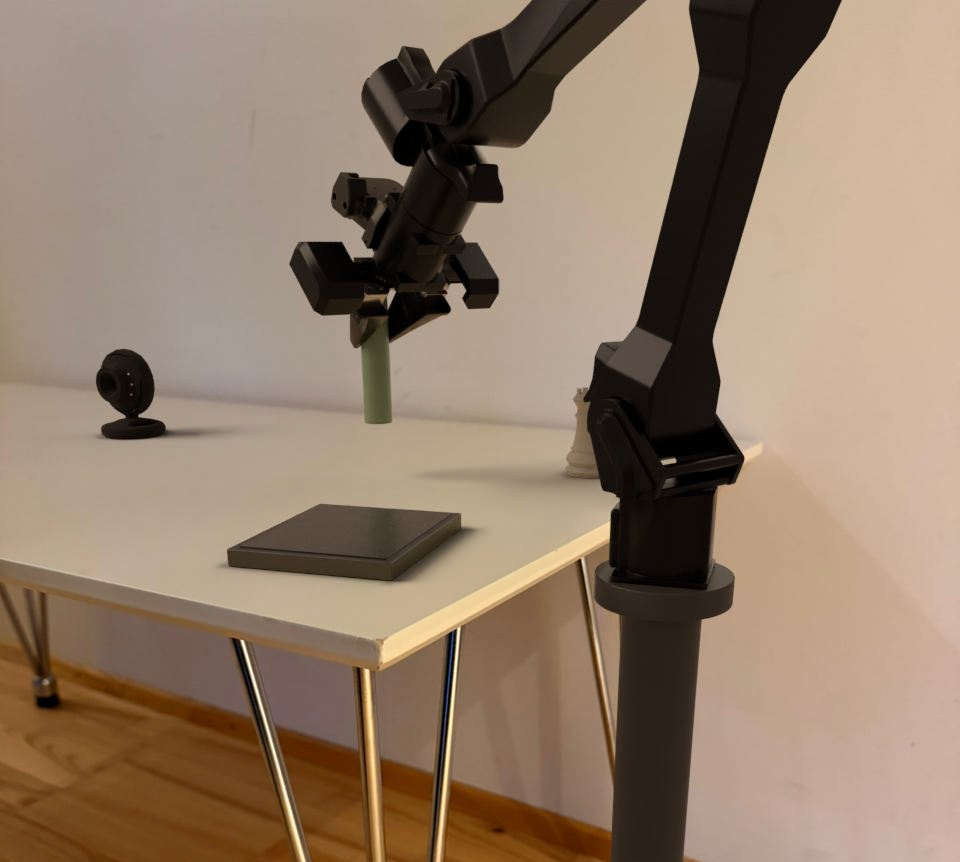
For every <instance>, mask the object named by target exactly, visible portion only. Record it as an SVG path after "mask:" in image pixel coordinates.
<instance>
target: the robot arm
mask: <svg viewBox="0 0 960 862" xmlns="http://www.w3.org/2000/svg"><path fill="white" fill-rule="evenodd" d="M842 1H843V0H689V2H688V15H689V20H690V26H691V31H692V37H693V41H694V47H695V53H696V58H697V63H698V73H697V80H696V84H695V88H694V93H693V97H692V101H691V104H690V109H689V112H688V116H687V120H686V125H685V129H684V133H683V136H682V141H681V146H680V149H679V153H678V157H677V161H676V165H675V168H674V173H673V177H672V181H671V185H670V188H669V189H670V190H669V194H668V197H667V202H666V205H665V209H664V212H663V213H664V214H663V217H662V221H661V226H660V230H659V232H658V233H659V234H658V237H657V241H656V245H655V249H654V253H653V257H652V261H651V266H650V269H649V274H648V278H647V281H646V286H645V290H644V293H643V298H642V302H641V306H640V310H639V313H638V314H639V315H638V318H637V320H636V322H635V325H634V326H633V327H632V329H631V330H630V332H629V333H628V334H627V335H626V337H625V338H624V339H623V340H617V341H603V342H601V343H600V344H599V346H598V348H597V350H596V352H595V355H594V361H593V369H592V377H591V381H590V385H589V387H588V391H587V393H586V395H585V396H584V398H583V401H584V402H585V403H587V402H590V404H589V408H588V413H587V431H588V433H589V434H590V437H591V442H592V446H593V451H594V455H595V460H596V465H597V469H598V474H599V477H598V478H599V482H600V488H601V490H602V491H603V492H606V493H610V494H613V495H614V496H615V498H618V502H617V503H616V504H615V505H614V507H613V508H612V509H611V510H610V521H609V541H608V542H609V543H608V544H609V545H608V546H609V547H608V560H609V565H610V567H611V568H615V569H614V571H613V572H612V574H611V581H612V582H615V583H625V584H637V585H648V586H660V587H672V588H683V589H695V590H705V589H707V588H708V585H709V582H710V579H711V576H712V573H713V570H714V567H715V563H716V558H713V555H714V544H715V543H714V542H715V532H716V531H715V530H716V529H715V528H716V517H717V505H718V492H719V487H721V486H725V485H726V486H731V485H735V484H736V483H737V480H738V478H739V477H740V476H739V475H740V473H741V470H742V468H743V465H744V463H745V461H746V460H745V458H746V457H745V455H744V453H743V452H742V450H741V448H740V447H739V445H738V444H737V442H736V441H735V440H734V438H733V436H732V435H731V433H730V432H729V431H728V429H727V427H726V425H725V424H724V423H723V421H722V419H720V417H719V416H718V414H717V409H718V402H719V397H720V390H721V383H722V379H721V373H720V369H719V365H718V360H717V355H716V351H715V345H714V335H715V331H716V327H717V324H718V320H719V317H720V313H721V310H722V307H723V303H724V300H725V297H726V293H727V289H728V286H729V282H730V279H731V275H732V273H733V269H734V266H735V262H736V259H737V255H738V252H739V249H740V245H741V241H742V238H743V234H744V231H745V228H746V224H747V221H748V217H749V214H750V211H751V207H752V204H753V200H754V197H755V195H756V191H757V187H758V183H759V180H760V177H761V173H762V170H763V167H764V163H765V159H766V155H767V153H768V149H769V146H770V142H771V139H772V136H773V132H774V130H775V129H774V128H775V126H776V125H775V124H776V122H777V118H778V116H779V115H778V114H779V112H780V109H781V104H782V101H783V98H784V96H785V94H786V91H787V88H788V86H789V85H790V84H791V82H792V81H793V80H794V78H795V77H796V76H797V74H798V73H799V72H800V70H801V69H802V68H803V67H804V66H805V65H806V63H807V61H808V60H809V59H810V58H811V57H812V55H813V54H814V52H816V50H817V49H818V48H819V47H820V46H821V43H822V42H823V41H824V40H825V39H826V37H827V35H828V34H829V31H830V29H831V26H832V25H833V22H834V19H835V17H836V16H837V13H838V10H839V8H840V6H841V4H842ZM646 2H647V0H530V1H529V3H528V4H526V6H524V8H523V9H521V11H520V12H519V13H518V14H517V15H516V16H515V17H514V18H513V19H512V20H510V22H508V23H507V24H506V25H504V26H503V27H501V28H498V29H495V30H492V31H489V32H487V33H484V34H480V35H478V36H476V37H473V38H471V39H469V40H468V41H466V42H465V43H464V44H463V45H460V47H458V48H457V49H456V50H454V51H453V52H451V53H450V54H449V55H448V56H447V57H445V58H444V59H443V60H442V62H441V64H440V65H439V67H438V68H437V69H436V71H435V70H434V67H433V65H432V63H431V59H430V57H429V56H428V54H427V53H426V51H425V49H424V48H422V47H415V46H408V45H402V46H401V47H400V50H399V53H398V55H397V57H396V58H393V59H391V60H388V61H386V62H384V63H383V64H381V65H380V66H378V67H377V68H376V69H375V70H374V71H373V72H372V73H371V74H370V76H369V77H367V78H365V81H364V82H363V85H362V89H361V93H360V94H361V95H360V97H361V98H360V100H361V105H362V108H363V109H364V111H365V113H366V114H367V116H368V118H369V120H370V121H371V123H372V125H373V127H374V128H375V130H376V132H377V133H378V135H379V137H380V139H381V140H382V142H383V144H384V145H385V147H386V149H387V150H388V152H389V154H390V155H391V157H392V159H393V160H394V162H396V163H397V164H399V165H401V166H404V167H407V168H408V167H409V168H411V169H410V171H409V173H408V176H407V177H406V180H405V182H404V184H403V185H402V184H401V183H399V182H398V181H397V180H393V179H390V178H385V177H384V178H383V177H368V176H367V177H366V176H360V175H359V173H357V172H348V171H340V172H339V174H338V176H337V178H336V180H335V181H334V183H333V186H332V190H331V196H330V204H331V207H332V209H333V210H334V211H335V212H337V214H339V215H340V216H341V217H342V218H344V219H348V220H352V221H354V222H355V223H356V225H358V226H359V227H360V228H362V229H363V230H364V232H363V234H362V235H361V241H362V242H363V244H364V246H365V248H366V250H372V252H373V255H372V256H361V257H358V256H354V257H353V258H352V257H351V255H350V254H349V252H348V250H347V248H346V246H345V244H344V243H343V241H298V242H297V244H296V246H295V247H294V250H293V252H292V255H291V258H290V261H289V263H288V264H289V267H290V268H291V271H292V273H293V274H294V276H295V279H296V280H297V282H298V284H299V286H300V287H301V290H302V291H303V294H304V296H305V297H306V300H307V301H308V303H309V305H310V307H311V309H312V310H313V312H314V313H316V314H318V315H320V316H322V317H326V316H348V315H349V341H350V343H351V345H352V347H353V349H359V348H361V345H362V344H364V343H365V342H366V341H367V340H368V339H369V337H370V336H371V335H372V334H373V333H374V332H375V331H376V330H377V329H378V328H379V327H380V325H381V324H382V323H383V322H384V321H385V320H386V319H387V318H388V328H389V345H390V344H392V343H394V342H395V341H397V340H399V339H401V338H402V337H404V336H406V335H407V334H409V333H411V332H413V331H415V330H417V329H419V328H421V327H423V326H424V325H426V324H428V323H430V322H433V321H434V320H436V319H439V318H440V317H443V316H448V315H449V314H450V313H451V312H452V307H451V305H450V303H449V302H448V300H447V299H446V298H447V295H448V290H449V288H450V286H451V285H454V284H455V285H456V284H457V285H458V284H461V285H462V286H463V287H464V290H465V292H464V294H463V296H462V297H461V300H462V301H463V303H464V305H465V307H466V308H467V310H485V309H491V307H492V306H493V304H494V302H495V301H496V299H497V297H498V296H499V294H500V289H501V287H500V284H501V282H500V278H499V277H498V275H497V273H496V272H495V271H496V270H494V268H493V266H492V265H491V263H490V262H489V260H488V258H487V257H486V255H485V253H484V251H483V250H482V248H481V246H480V245H479V242H476V241H475V242H473V241H472V242H469V241H468V242H466V240H465V239H464V237H463V235H462V232H463V231H464V229H465V227H466V225H467V224H468V222H469V219H470V218H471V215H472V214H473V212H474V210H475V208H476V206H477V204H498V205H499V204H502V203H503V202H504V200H505V196H504V195H505V194H504V186H503V184H502V182H501V179H500V175H499V174H500V173H499V165H498V164H497V163H490V162H489V161H488V159H487V158H486V156H485V154H484V153H483V151H482V150H481V148H480V147H489V148H490V147H491V148H503V149H517V148H520V147H522V146H524V145H525V144H526V143H527V142H528V141H529V140H530V139H531V137H532V136H533V135H534V133H535V132H536V131H537V130H538V129H539V128H540V126H541V125H542V123H544V121H545V119H546V118H547V117H548V116H549V114H550V113H551V111H552V110H553V108H554V102H555V97H556V92H557V88H558V86H559V85H560V84H561V83H562V82H563V80H564V79H565V77H566V76H567V75H569V74H570V72H572V71H573V69H575V68H576V67H577V66H578V65H579V64H580V63H581V62H582V61H584V60H585V58H587V56H589V55H590V54H591V53H592V52H593V51H594V50H595V49H596V48H598V46H600V45H601V44H602V43H603V42H604V41H605V40H606V39H608V37H609V36H610V35H611V34H612V33H613V32H614V31H615V30H616V29H618V28H619V27H620V26H621V25H622V24H623V23H624V22H625V21H626V20H628V18H629V17H631V16H632V15H633V14H634V13H635V12H636V11H637V10H638V9H639V8H640V7H642V6H643V5H644V3H646ZM390 292H395V293H394V295H393V297H392V299H391V301H390V304H389V305H388V312H387V310H386V308H385V306H384V304H383V302H384V300H385V297H387V298H388V296H389V294H390ZM668 460H675V462H672V463H667V464H664V463H662V461H668Z"/></svg>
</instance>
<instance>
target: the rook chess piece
mask: <svg viewBox="0 0 960 862" xmlns="http://www.w3.org/2000/svg"><path fill="white" fill-rule="evenodd" d="M588 390H589V387H587V386H584V387H578V388H576V394H575V395H574V396H573V397H572V401H573V403H574V404H575V406H576V409H577V411H576V413H575V414H574V417H575V418H576V427H575V434H574V439H573V443H572V446H570V451H569V452H568V453H567V454H566V457H565V461H566V462H567V466H565V467H564V471H565V472H566V473H567V475H568V476H571V477H575V478H582V479H597V478H599V474H598V469H597V465H596V460H595V455H594V451H593V446H592V442H591V437H590V434H589V433H588V431H587V413H588V408H589V404H590V402H587V403H585V402H584V401H583V398H584V396H585V395H586V393H587V391H588Z"/></svg>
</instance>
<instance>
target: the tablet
mask: <svg viewBox="0 0 960 862" xmlns="http://www.w3.org/2000/svg"><path fill="white" fill-rule="evenodd" d="M461 529H462V513H461V512H448V511H447V512H446V511H433V510H420V509H405V508H390V507H376V506H375V507H374V506H363V505H362V506H360V505H347V504H343V505H342V504H330V503H319V504H317V505H314V506H312V507H311V508H308V509H306V510H304V511H302V512H300V513H297V514H296V515H294V516H292V517H290V518H288V519H286V520H283V521H281V522H280V523H277V524H275V525H274V526H271V527H270V528H267V529H266V530H263V531H261V532H259V533H257V534H255V535H253V536H251V537H249V538H247V539H245V540H242V541H241V542H238V543H236V544H235V545H233V546H230V547H229V548H226V556H227V557H226V558H227V565H228V566H229V567H237V568H248V569H259V570H271V571H278V572H279V571H280V572H292V573H301V574H302V573H303V574H311V575H313V574H314V575H324V576H336V577H347V578H359V579H366V580H367V579H368V580H379V581H393V580H394V579H396V578H397V577H398V576H400V575H401V574H402V573H404V572H405V571H407V570H408V569H409V568H411V567H412V566H413V565H414V564H416V563H417V562H418V561H419V560H421V559H422V558H424V557H425V556H426V555H428V554H429V553H430V552H432V551H433V550H435V548H437V547H439V546H440V545H441V544H442V543H444V542H445V541H446V540H448V539H449V538H451V536H453V535H455V534H456V533H458V531H459V530H461Z"/></svg>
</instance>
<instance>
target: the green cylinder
mask: <svg viewBox="0 0 960 862" xmlns="http://www.w3.org/2000/svg"><path fill="white" fill-rule="evenodd" d="M383 304H384V306H385V308H386V310H387V312H388V308H389V305H388V296H387V297H385V300H384V302H383ZM390 352H391V351H390V344H389V328H388V318H387V319H386V320H385V321H384V322H383V323H382V324H381V325H380V327H379V328H378V329H377V330H376V331H375V332H374V333H373V334H372V335H371V336H370V337H369V339H368V340H367V341H366V342H365V343H364V344H362V345H361V346H360V355H361V358H360V359H361V375H362V376H361V377H362V393H363V394H362V395H363V412H364V413H363V416H364V423H365V424H368V425H388V424H391V423H393V402H392V379H391V378H392V377H391V376H392V375H391V357H390V356H391V355H390V354H391V353H390Z"/></svg>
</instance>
